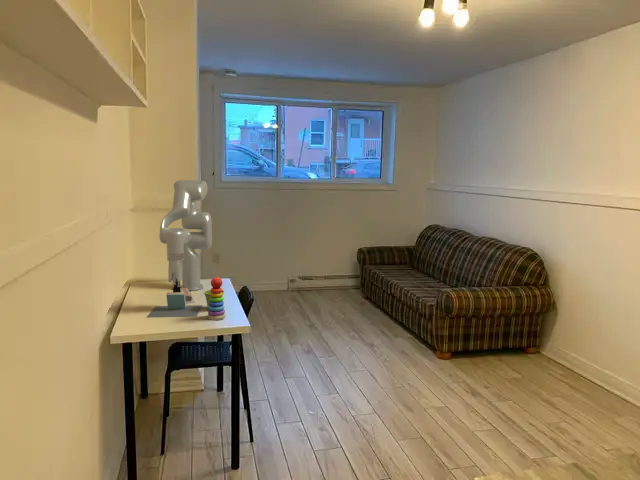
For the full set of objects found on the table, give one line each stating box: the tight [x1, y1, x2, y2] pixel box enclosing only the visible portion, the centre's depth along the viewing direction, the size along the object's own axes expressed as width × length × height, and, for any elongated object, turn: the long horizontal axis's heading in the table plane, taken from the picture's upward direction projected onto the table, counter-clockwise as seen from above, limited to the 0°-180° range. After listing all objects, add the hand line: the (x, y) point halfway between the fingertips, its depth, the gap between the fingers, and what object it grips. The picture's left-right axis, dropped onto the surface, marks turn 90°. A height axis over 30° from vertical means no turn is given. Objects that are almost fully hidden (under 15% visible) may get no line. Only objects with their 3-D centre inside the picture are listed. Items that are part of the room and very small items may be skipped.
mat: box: [146, 304, 203, 319], centre depth 223 cm, size 18×22×1 cm
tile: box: [166, 292, 187, 309], centre depth 226 cm, size 2×8×8 cm, turn 96°
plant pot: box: [203, 289, 225, 311], centre depth 227 cm, size 9×9×9 cm
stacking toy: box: [206, 276, 226, 321], centre depth 213 cm, size 8×8×19 cm
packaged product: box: [181, 288, 196, 305], centre depth 244 cm, size 18×5×10 cm
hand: (176, 295), depth 227 cm, fingers closed
